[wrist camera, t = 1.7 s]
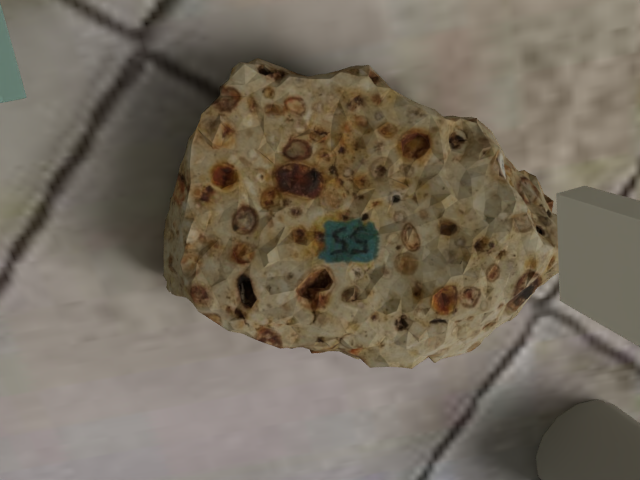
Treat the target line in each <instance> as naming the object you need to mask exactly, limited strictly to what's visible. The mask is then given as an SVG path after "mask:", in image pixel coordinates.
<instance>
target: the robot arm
mask: <svg viewBox="0 0 640 480" xmlns="http://www.w3.org/2000/svg"><path fill="white" fill-rule="evenodd" d="M556 197H557V228H558V259H559V290H560V301H561V302H563V303H565V304H567V305H568V306H570V307H572V308H574V309H575V310H577V311H579V312H580V313H582V314H584V315H586V316H587V317H589V318H591V319H593V320H594V321H596V322H598V323H599V324H601V325H603V326H605V327H606V328H608V329H610V330H612V331H613V332H615V333H617V334H618V335H620V336H622V337H624V338H625V339H627V340H629V341H631V342H632V343H634V344H636V345H637V346H639V347H640V201H638V200H634V199H631V198H627V197H624V196H620V195H616V194H613V193H609V192H606V191H602V190H598V189H595V188H591V187H587V186H582V187H579V188H575V189H572V190H568V191H564V192H561V193H557V194H556Z"/></svg>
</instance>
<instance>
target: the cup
mask: <svg viewBox="0 0 640 480" xmlns="http://www.w3.org/2000/svg"><path fill="white" fill-rule="evenodd" d="M536 464H537V473H538V476H539V478H540V479H541V480H640V423H639V422H637V421H636V420H634V419H633V418H632V417H630V416H629V415H627V414H626V413H625V412H623V411H622V410H621V409H619V408H618V407H616V406H615V405H613V404H610V403H607V402H604V401H601V400H593V401H589V402H584V403H579V404H577V405H575V406H574V407H572V408H570V409H569V410H567V411H566V412H564V413H563V414H561V415H560V416H558V417H557V418H556V420H555V421H554V422H553V424H552V425H551V426H550V427H549V429H548V430H547V431H546V433H545V434H544V435H543V437H542V440H541V443H540V446H539V449H538V452H537V455H536Z"/></svg>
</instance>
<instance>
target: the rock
mask: <svg viewBox="0 0 640 480" xmlns="http://www.w3.org/2000/svg"><path fill="white" fill-rule="evenodd" d="M552 207H553V200H551V199H550V198H549V197H547V196H546V195H545V194H544V193H543V191H542V188H541V186H540V184H539V182H538V180H537V178H536V176H534V175H531V174H529V173H528V172H526V171H525V170H523V171H518V170H517V169H516V168H515V167H514V166H513V164H512V163H511V162H510V161H509V160H508V159H507V158H506V157H505V155H504V153H503V151H502V149H501V147H500V145H499V144H498V142H497V140H496V138H495V137H494V135H493V133H492V131H490V130H489V129H488V128H487V127H486V126H485V125H483V124H482V123H481V122H480V121H479V120H477V118H472V117H457V116H446V117H443V116H441V115H440V114H439V113H438V112H437V111H435V110H434V109H431V108H429V107H426V106H423V105H421V104H418V103H416V102H414V101H412V100H410V99H408V98H406V97H404V96H402V95H401V94H399V93H397V92H396V91H394V90H392V89H391V88H390V87H389V86H388V85H387V84H386V82H385V81H384V80H383V79H382V78H381V77H380V76H379V75H378V74H377V73H376V72H375V71H374V70H373V69H372V68H371V67H370V66H369V65H364V66H352V67H348V68H345V69H342V70H339V71H335V72H331V73H327V74H318V75H314V76H309V77H307V76H303V75H299V74H297V73H295V72H292V71H290V70H287V69H285V68H283V67H280V66H277V65H275V64H272V63H269V62H267V61H264V60H261V59H258V58H257V59H255V60H253V61H250V62H248V63H241V62H239V63H238V64H237V65H236V66H235V67H233V68H232V71H231V75H230V78H229V80H228V81H227V82H226V83H224V84H223V85H222V86H221V87H220V96H219V97H218V98H217V99H216V100H215V101H214V102H213V103H212V104H211V105H210V106H209V107H208V108H207V109H206V110H205V111H204V112H203V113H202V114H201V118H200V121H199V124H198V126H197V128H196V130H195V131H194V133H193V134H192V135H191V136H190V138H189V140H188V144H187V147H186V151H185V155H184V159H183V161H182V163H181V164H180V169H179V173H178V178H177V182H176V186H175V189H174V193H173V196H172V197H171V198H170V209H169V212H168V215H167V218H166V220H165V229H164V255H163V261H164V274H163V276H164V277H165V279H166V281H167V287H166V288H167V289H168V291H169V292H171V293H172V294H174V295H176V296H182V297H186V298H187V299H189V300H190V301H191V302H192V303H193V304H194V306H195V307H196V308H197V310H198V311H199V312H200V313H202V314H203V315H205V316H206V317H208V318H209V319H211V320H213V321H214V322H216V323H217V324H219V325H220V326H222V327H223V328H225V329H226V330H228V331H232V332H237V333H242V334H245V335H247V336H249V337H251V338H254V339H256V340H258V341H261V342H264V343H267V344H270V345H272V346H275V347H278V348H291V349H292V348H296V347H304V348H307V349H310V351H311V353H322V352H326V351H340V352H342V353H344V354H346V355H349V356H351V357H353V358H356V359H361V360H362V361H363V362H365V363H366V364H367V365H368V366H369V367H370V368H371V367H403V368H411V369H412V368H413V367H415V366H416V365H417V364H419V363H420V362H422V361H423V360H425V359H426V358H428V357H429V358H430V359H431V360H432V361H433V362H434V363H436V362H437V361H439V360H440V359H443V358H447V357H452V356H457V355H461V354H464V353H467V352H470V351H472V350H474V349H475V348H476V347H477V346H479V345H480V344H481V342H482V341H483V339H484V338H485V337H487V336H489V335H490V333H491V332H492V331H493V330H494V329H495V328H497V327H498V326H500V325H501V324H503V323H505V322H506V321H510V320H512V319H513V318H514V317H515V316H517V315H518V313H519V312H520V310H521V309H522V307H523V306H524V304H525V303H526V301H527V300H528V299H529V298H530V297H531V295H532V294H533V293H534V292H535V290H536V289H537V287H539V286H541V285H543V284H544V283H545V282H547V281H548V280H549V279H550V278H551V277H552V276H554V275H555V274H557V273H559V259H558V228H557V215H555V214H553V213H552Z"/></svg>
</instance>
